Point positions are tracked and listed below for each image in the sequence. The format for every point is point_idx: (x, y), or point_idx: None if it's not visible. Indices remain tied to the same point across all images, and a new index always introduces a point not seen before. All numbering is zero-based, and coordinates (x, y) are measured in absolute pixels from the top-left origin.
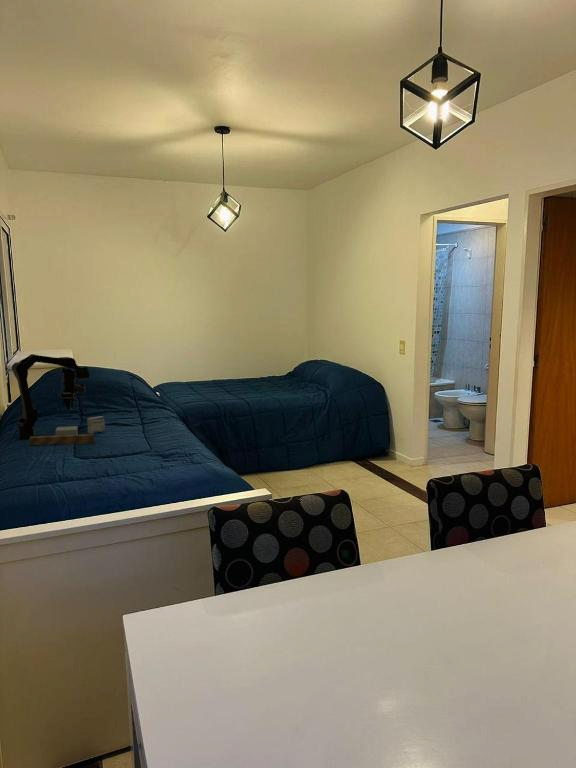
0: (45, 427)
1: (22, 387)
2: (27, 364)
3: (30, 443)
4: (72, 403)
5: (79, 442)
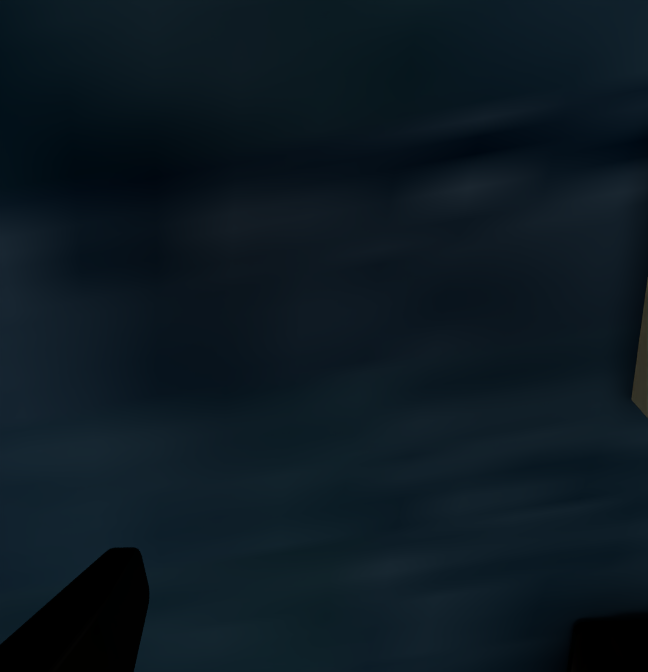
0: None
1: None
2: None
3: None
4: (75, 659)
5: None
